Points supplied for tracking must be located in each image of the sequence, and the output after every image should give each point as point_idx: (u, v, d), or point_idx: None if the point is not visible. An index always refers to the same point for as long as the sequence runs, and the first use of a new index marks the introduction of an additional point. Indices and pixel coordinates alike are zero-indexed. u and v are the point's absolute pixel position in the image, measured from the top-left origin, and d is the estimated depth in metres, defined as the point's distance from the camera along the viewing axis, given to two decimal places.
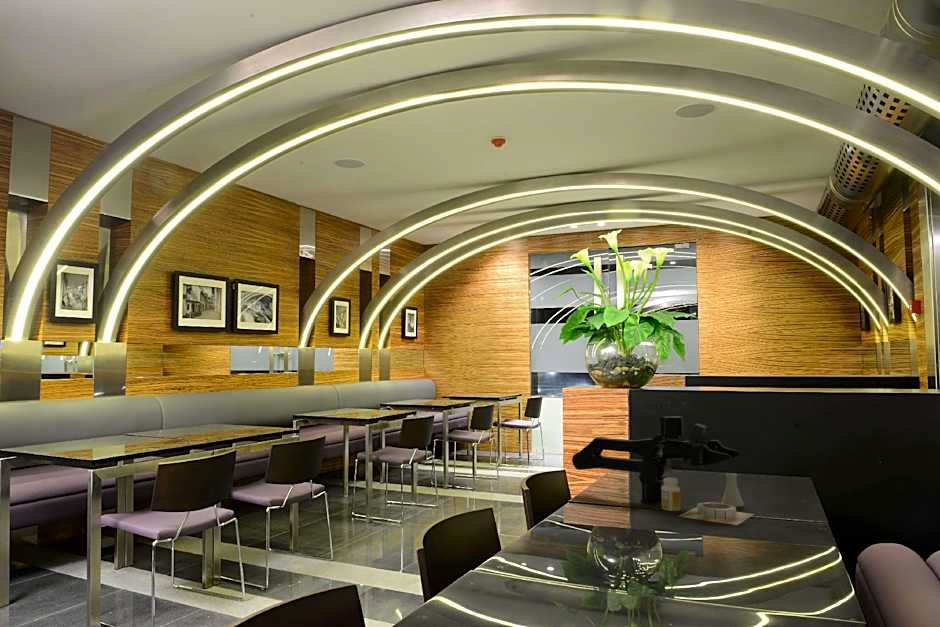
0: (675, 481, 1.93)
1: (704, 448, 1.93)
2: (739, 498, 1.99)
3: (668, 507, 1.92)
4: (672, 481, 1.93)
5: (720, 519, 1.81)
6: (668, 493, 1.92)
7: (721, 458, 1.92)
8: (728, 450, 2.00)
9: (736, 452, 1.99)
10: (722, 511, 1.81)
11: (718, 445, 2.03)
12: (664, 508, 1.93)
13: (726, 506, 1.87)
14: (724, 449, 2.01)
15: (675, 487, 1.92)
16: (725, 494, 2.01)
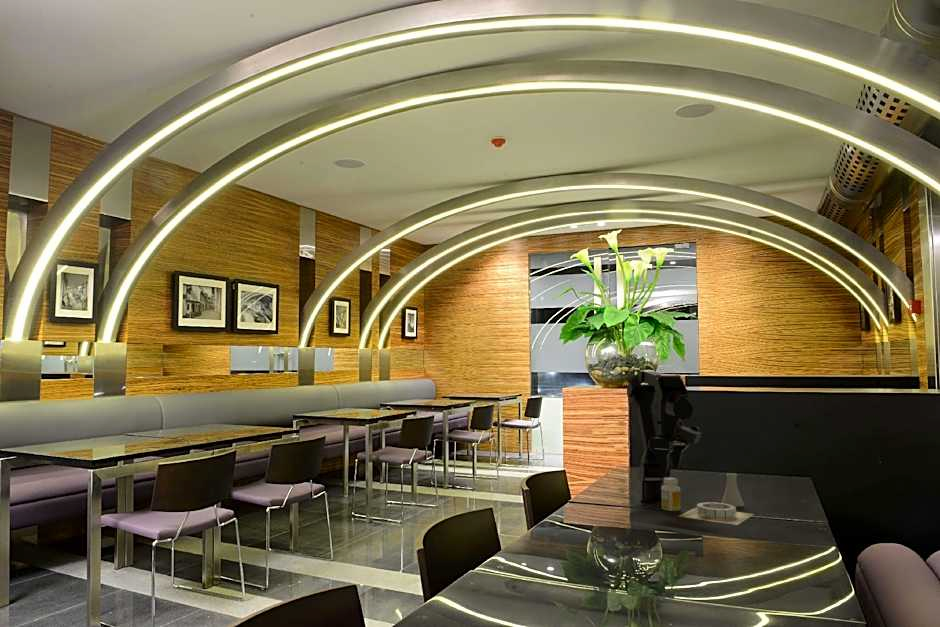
0: (675, 481, 1.93)
1: (667, 451, 1.88)
2: (739, 498, 1.99)
3: (668, 507, 1.92)
4: (672, 481, 1.93)
5: (720, 519, 1.81)
6: (668, 493, 1.92)
7: (661, 464, 1.91)
8: (678, 457, 1.98)
9: (677, 465, 1.98)
10: (722, 511, 1.81)
11: (682, 447, 1.98)
12: (664, 508, 1.93)
13: (726, 506, 1.87)
14: (679, 453, 1.99)
15: (675, 487, 1.92)
16: (725, 494, 2.01)
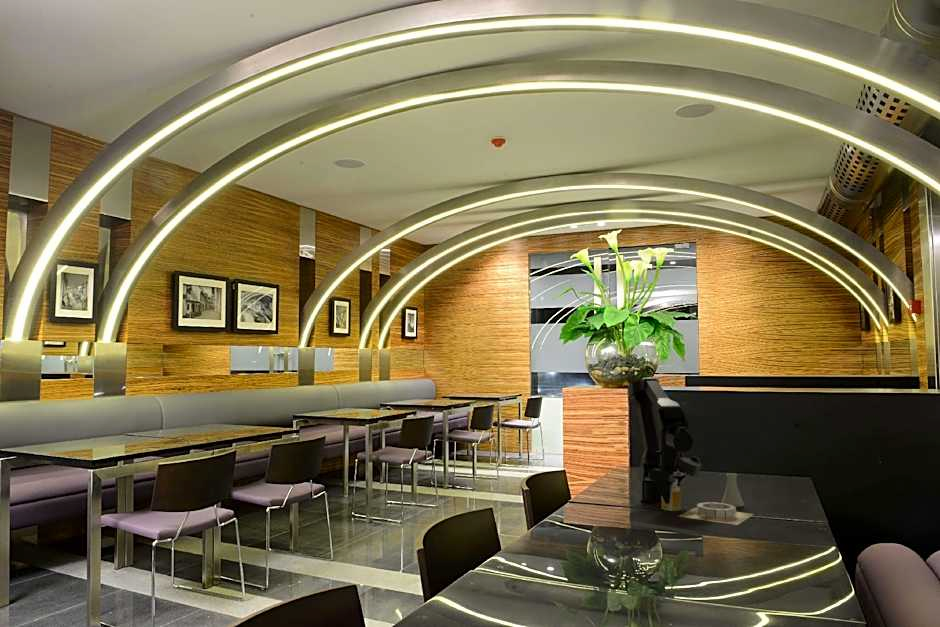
0: None
1: (670, 482, 1.89)
2: (739, 498, 1.99)
3: (668, 507, 1.92)
4: None
5: (720, 519, 1.81)
6: None
7: (664, 495, 1.92)
8: None
9: None
10: (722, 511, 1.81)
11: (681, 478, 1.96)
12: (664, 508, 1.93)
13: (726, 506, 1.87)
14: (677, 484, 1.97)
15: (675, 487, 1.92)
16: (725, 494, 2.01)
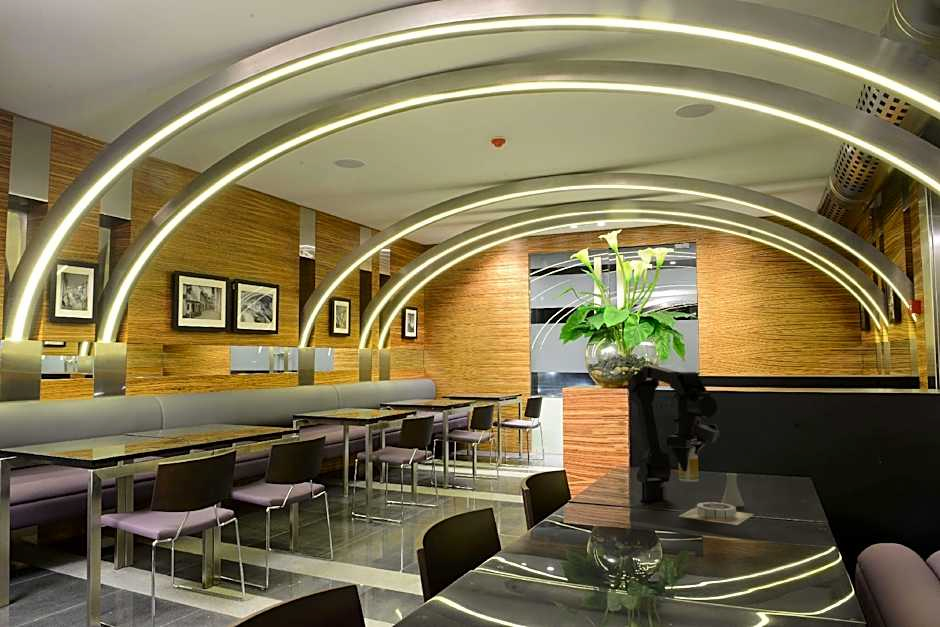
0: None
1: None
2: (739, 498, 1.99)
3: (686, 474, 1.89)
4: None
5: (720, 519, 1.81)
6: None
7: (681, 462, 1.89)
8: None
9: None
10: (722, 511, 1.81)
11: (698, 446, 1.93)
12: (681, 476, 1.90)
13: (726, 506, 1.87)
14: (695, 452, 1.94)
15: (693, 455, 1.90)
16: (725, 494, 2.01)
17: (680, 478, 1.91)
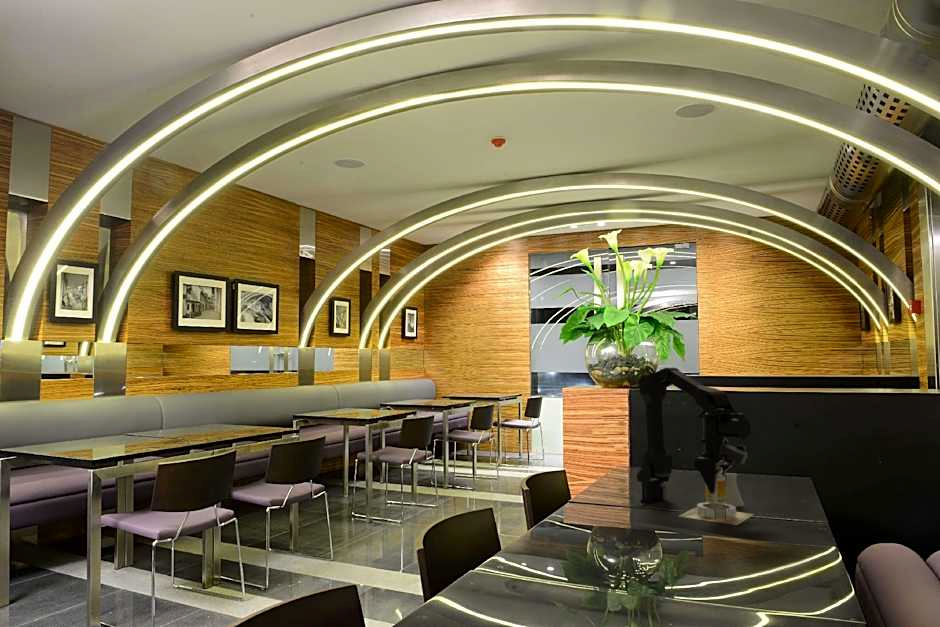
0: None
1: (716, 471, 1.81)
2: (739, 498, 1.99)
3: (713, 497, 1.84)
4: None
5: (720, 519, 1.81)
6: None
7: (709, 485, 1.84)
8: None
9: None
10: (722, 511, 1.81)
11: (725, 467, 1.89)
12: (708, 498, 1.85)
13: (726, 506, 1.87)
14: None
15: (720, 476, 1.85)
16: None
17: (707, 500, 1.86)
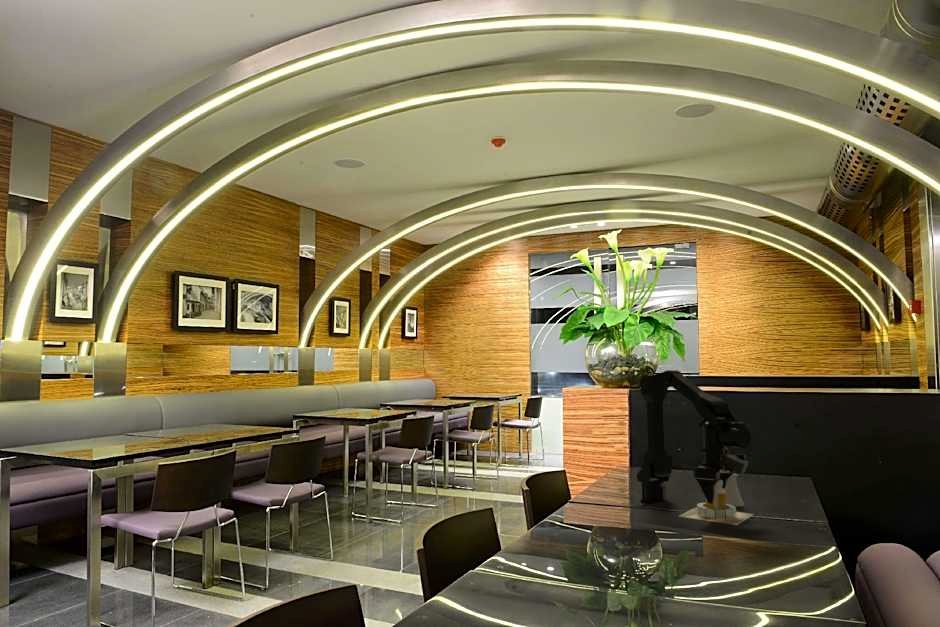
0: (720, 482, 1.85)
1: (714, 481, 1.80)
2: (739, 498, 1.99)
3: None
4: (717, 482, 1.85)
5: (720, 519, 1.81)
6: None
7: (707, 495, 1.83)
8: (723, 486, 1.90)
9: None
10: (722, 511, 1.81)
11: (727, 475, 1.90)
12: None
13: (726, 506, 1.87)
14: (724, 481, 1.90)
15: (721, 489, 1.85)
16: None
17: None
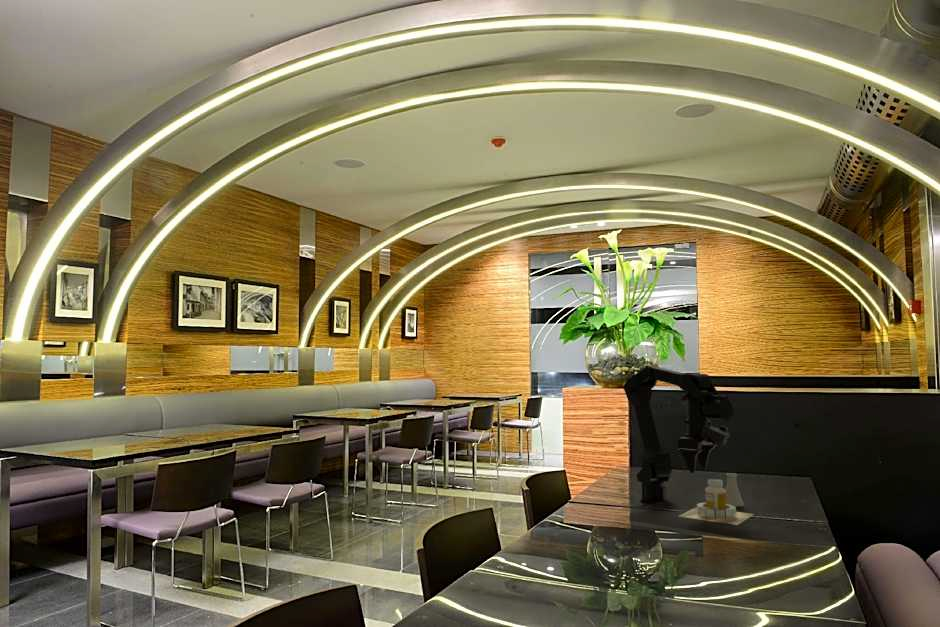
0: (720, 482, 1.85)
1: (696, 452, 1.87)
2: (739, 498, 1.99)
3: None
4: (717, 482, 1.85)
5: (720, 519, 1.81)
6: (713, 495, 1.84)
7: (689, 465, 1.90)
8: (705, 457, 1.97)
9: (704, 465, 1.97)
10: (722, 511, 1.81)
11: (710, 447, 1.97)
12: None
13: (726, 506, 1.87)
14: (706, 453, 1.97)
15: (721, 489, 1.85)
16: None
17: None
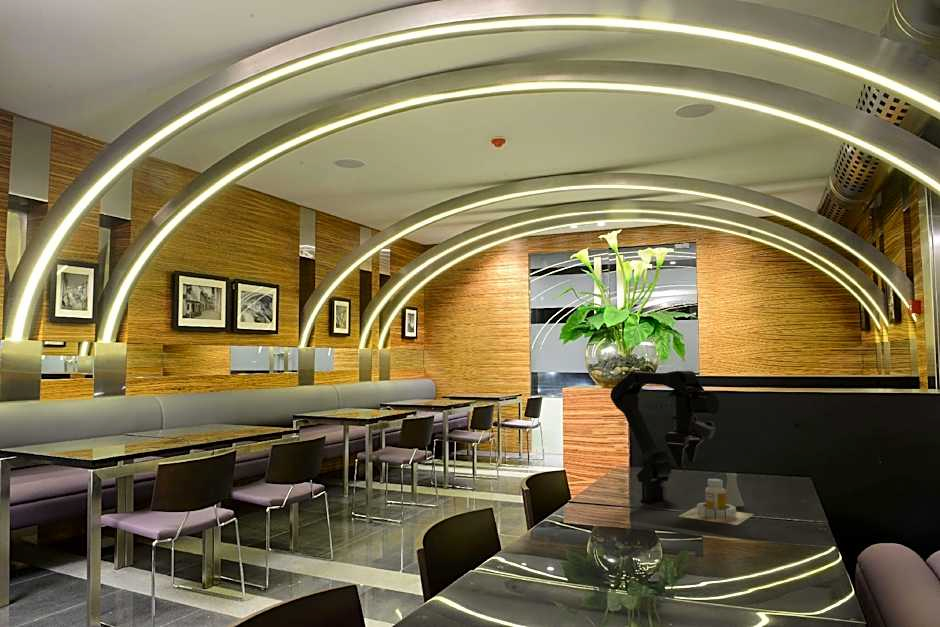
0: (720, 482, 1.85)
1: (683, 446, 1.93)
2: (739, 498, 1.99)
3: None
4: (717, 482, 1.85)
5: (720, 519, 1.81)
6: (713, 495, 1.84)
7: (677, 459, 1.95)
8: (693, 452, 2.03)
9: (691, 460, 2.03)
10: (722, 511, 1.81)
11: (697, 442, 2.03)
12: None
13: (726, 506, 1.87)
14: (693, 448, 2.03)
15: (721, 489, 1.85)
16: None
17: None
